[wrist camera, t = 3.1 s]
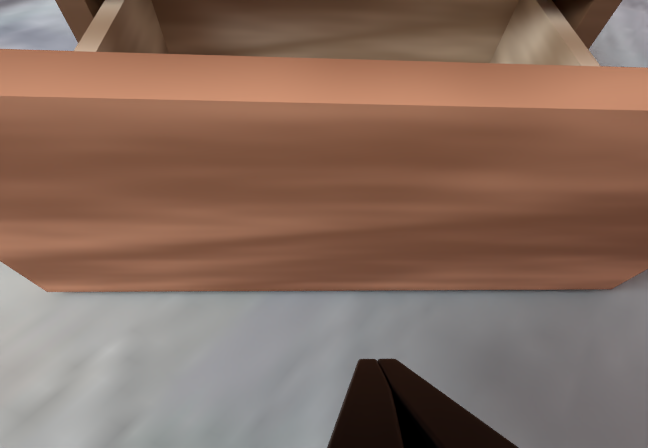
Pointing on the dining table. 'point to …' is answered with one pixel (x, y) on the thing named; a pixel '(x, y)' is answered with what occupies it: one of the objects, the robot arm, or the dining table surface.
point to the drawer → (323, 150)
